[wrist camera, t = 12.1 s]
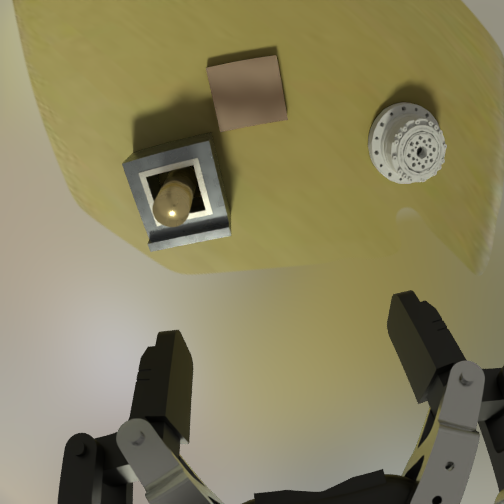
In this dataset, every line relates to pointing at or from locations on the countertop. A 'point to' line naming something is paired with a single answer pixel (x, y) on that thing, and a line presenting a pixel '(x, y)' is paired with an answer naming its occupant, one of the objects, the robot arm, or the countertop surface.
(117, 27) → the countertop surface
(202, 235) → the grey square frame
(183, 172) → the translucent brown rounded cylinder
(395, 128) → the mechanical component
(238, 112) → the brown square panel
